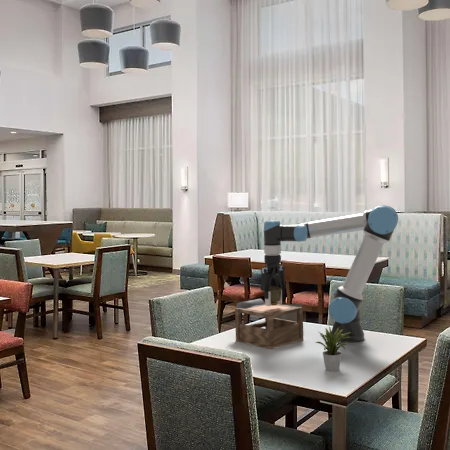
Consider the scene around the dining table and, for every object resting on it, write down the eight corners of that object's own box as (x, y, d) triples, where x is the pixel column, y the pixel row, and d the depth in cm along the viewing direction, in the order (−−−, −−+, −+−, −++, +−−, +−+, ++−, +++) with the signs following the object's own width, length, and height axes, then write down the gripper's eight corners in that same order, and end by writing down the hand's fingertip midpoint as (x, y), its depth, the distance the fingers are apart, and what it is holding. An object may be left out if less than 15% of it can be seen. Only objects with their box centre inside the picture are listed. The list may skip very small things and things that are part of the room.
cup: (264, 304, 258) (264, 286, 258) (280, 303, 259) (279, 286, 259) (267, 307, 251) (266, 289, 250) (283, 306, 251) (282, 288, 251)
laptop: (299, 324, 291) (299, 300, 290) (302, 330, 278) (302, 304, 278) (264, 325, 291) (264, 300, 290) (266, 331, 278) (265, 305, 278)
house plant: (345, 378, 200) (344, 332, 199) (308, 373, 207) (307, 329, 206) (356, 367, 212) (355, 324, 212) (321, 363, 219) (320, 321, 218)
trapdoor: (292, 313, 257) (291, 303, 257) (269, 318, 247) (269, 307, 246) (257, 308, 273) (257, 298, 273) (235, 312, 263) (235, 302, 263)
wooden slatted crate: (303, 339, 257) (302, 307, 256) (270, 349, 242) (270, 314, 242) (268, 332, 273) (267, 302, 273) (235, 340, 258) (235, 308, 258)
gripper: (280, 252, 263) (282, 300, 264) (251, 255, 250) (252, 306, 251) (293, 253, 258) (294, 302, 259) (263, 256, 245) (264, 308, 245)
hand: (273, 304), depth 255 cm, fingers closed on cup, 7 cm apart
